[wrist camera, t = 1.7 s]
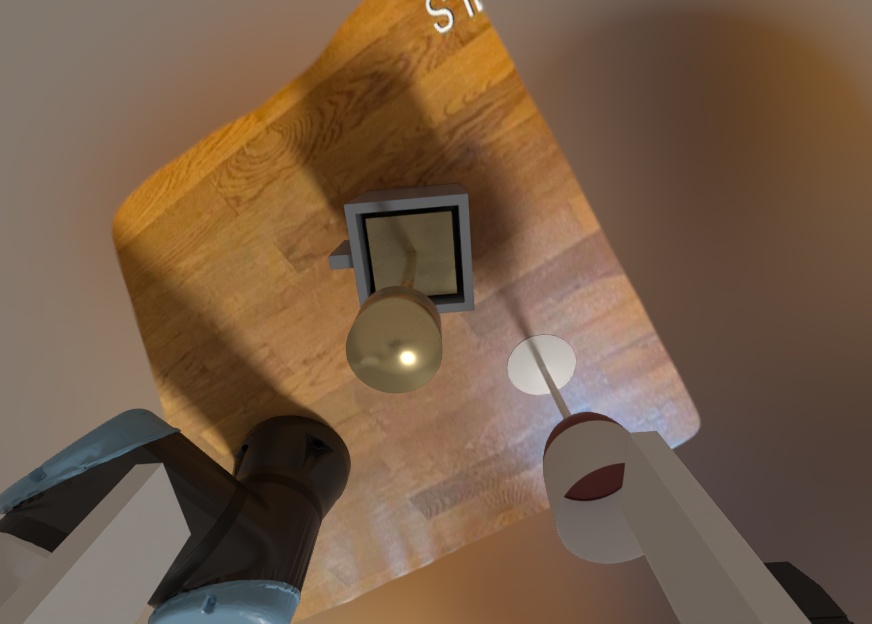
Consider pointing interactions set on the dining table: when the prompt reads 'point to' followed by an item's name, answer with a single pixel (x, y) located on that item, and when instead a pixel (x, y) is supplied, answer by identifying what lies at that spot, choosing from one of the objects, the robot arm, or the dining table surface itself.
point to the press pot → (408, 202)
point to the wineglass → (578, 458)
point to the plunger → (403, 301)
